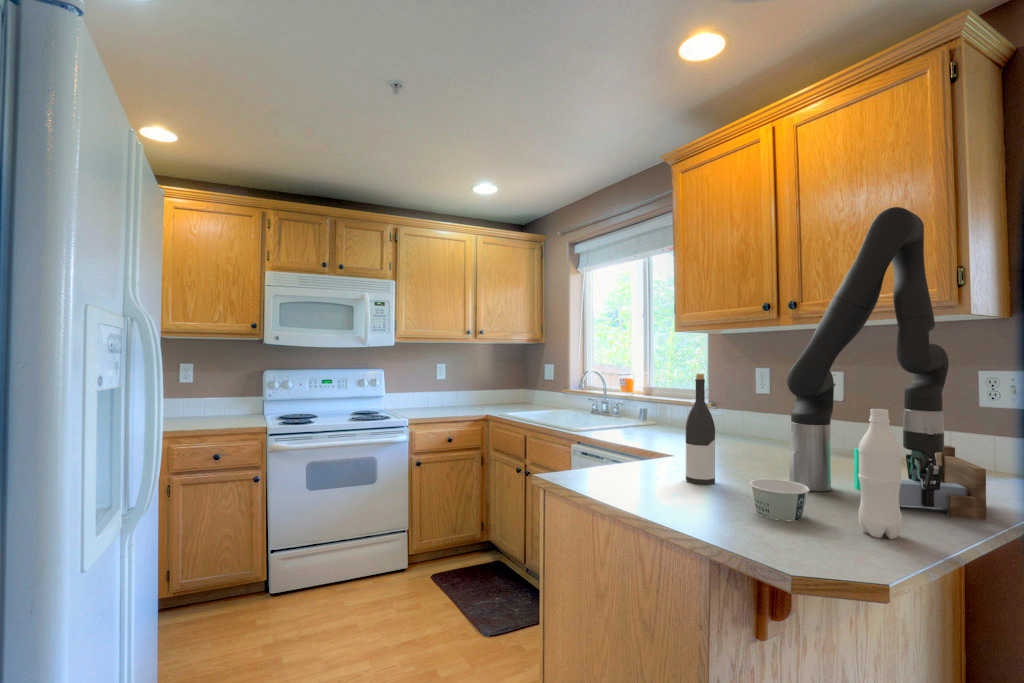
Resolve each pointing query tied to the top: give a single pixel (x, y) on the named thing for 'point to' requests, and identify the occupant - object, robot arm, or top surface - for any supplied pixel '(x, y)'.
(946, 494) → the light blue rectangular bar
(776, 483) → the food container
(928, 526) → the top surface
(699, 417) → the wine bottle
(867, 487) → the water bottle
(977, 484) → the wooden holder stand
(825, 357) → the robot arm
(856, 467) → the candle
